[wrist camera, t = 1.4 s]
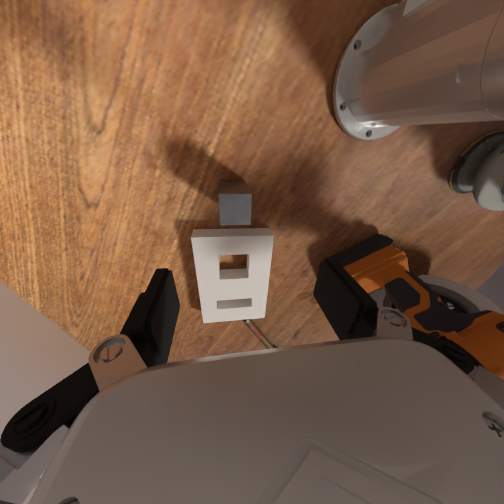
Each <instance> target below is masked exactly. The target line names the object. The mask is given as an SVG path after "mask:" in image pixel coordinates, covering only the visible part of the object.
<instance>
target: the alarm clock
mask: <svg viewBox="0 0 504 504" xmlns="http://www.w3.org/2000/svg"><path fill="white" fill-rule="evenodd" d="M418 277H419V278H420V279H422V280H423V282H425V283H427V284H428V285H429V286H430V287H432V290H434V291H435V292H436V293H437V294H438V295H439V296H440V298H441V301H442V302H444V303H445V304H446V305H447V306H448V307H449V308H450V309H451V310H452V311H454V312H457V313H461V314H472V313H477V312H481V311H484V310H491V311H494V312H498V313H500V314H503V313H502V311H501V310H500V309H499V308H498V307H497V306H496V305H495V304H494V303H493V302H491V301H490V300H489V299H487V298H486V297H484V296H483V295H482V294H480V293H478V292H477V291H475V290H473V289H471V288H469V287H467V286H465V285H463V284H460V283H457V282H454V281H451V280H449V279H445V278H440V277H436V276H431V275H421V276H418ZM370 296H371V297H372V298H373V299H374V300H375V301H376V303H377V307H378V308H379V309H380V308H381V307H390V308H393V309H396V310H398V309H397V308H396V307H395V305H394V304H393V303H392V302H391V300H390V299H389V297H388V296H387V294H386V292H385V291H384V289H383V288H382V289H379V290H376V291H373V292H371V293H370ZM398 311H399V310H398Z"/></svg>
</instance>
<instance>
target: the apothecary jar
mask: <svg viewBox="0 0 504 504" xmlns="http://www.w3.org/2000/svg"><path fill="white" fill-rule="evenodd" d="M449 184H450V188H451V189H452V190H453V191H454V192H456V193H460V194H464V193H469V192H473V195H474V198H475V200H476V202H477V203H478V204H479V205H480V206H482V207H484V208H486V209H489V210H504V130H495V131H491V132H489V133H486V134H484V135H483V136H481V137H479V138H478V139H476V140H475V141H474V142H472V143H471V144H470V145H469V146H468V147H467V148H466V149H465V150H464V151H463V153H462V154H461V155H460V156H459V159H458V163H457V165H456V166H455V167H454V168H453V169H452V171H451V174H450V178H449Z"/></svg>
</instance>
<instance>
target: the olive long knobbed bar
mask: <svg viewBox="0 0 504 504" xmlns="http://www.w3.org/2000/svg"><path fill="white" fill-rule="evenodd" d="M243 322H244V323H246V325H247V326H248V327H249V328H250V329H251V330H252V331H253V333H254V334H255V335H256V336H257V337H258V338H259V339H260V340H261V342H262V343H263V344H264V345H265V346H266V347H267V348H268V349H273V348H274V347H273V345H272V344H271V343H270V342H269V341H268V339H267V338H266V337H265V336H264V335H263V333H262V332H261V331H260V330H259V329H258V328H257V326H256V325H255V324H254V323H253V322H252V320H251V319H247V320H246V319H245V320H243Z"/></svg>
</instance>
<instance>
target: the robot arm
mask: <svg viewBox="0 0 504 504" xmlns="http://www.w3.org/2000/svg"><path fill="white" fill-rule="evenodd" d="M354 47H355V49H354ZM332 99H333V109H334V113H335V117H336V120H337V122H338V124H339V126H340V127H341V128H342V130H343V131H344V132H345V133H346V134H347V135H349V136H350V137H352V138H355V139H357V140H375V139H379V138H382V137H384V136H386V135H389V134H390V133H392V132H393V131H395V130H396V129H397V128H399V127H400V126H405V125H424V124H443V123H462V122H481V121H500V120H504V0H400V2H399V4H394V5H391V6H388V7H386V8H384V9H382V10H381V11H379V12H378V13H376V14H375V15H373V16H372V17H371V18H370V19H369V20H367V21H366V22H365V23H364V24H363V25H362V26H361V27H360V28H359V29H358V31H357V32H356V33H355V34H354V35H353V37H352V38H351V40H350V41H349V43H348V44H347V46H346V48H345V50H344V52H343V54H342V56H341V58H340V61H339V64H338V67H337V70H336V73H335V78H334V83H333V95H332ZM340 105H341V109H340ZM314 297H315V299H316V301H317V302H318V304H319V306H320V307H321V309H322V311H323V312H324V314H325V316H326V317H327V319H328V321H329V323H330V324H331V326H332V328H333V329H334V331H335V333H336V334H337V336H338V338H339V339H340V340H338V341H330V342H321V343H313V344H305V345H297V346H289V347H281V348H273V349H265V350H257V351H249V352H241V353H234V354H226V355H219V356H211V357H204V358H197V359H190V360H183V361H177V362H171V363H167V360H168V356H169V352H170V348H171V343H172V339H173V335H174V330H175V326H176V322H177V318H178V313H179V309H180V303H179V299H178V295H177V291H176V286H175V282H174V278H173V274H172V271H171V270H170V271H169V270H168V268H162V269H156V271H155V273H154V275H153V277H152V279H151V281H150V283H149V285H148V287H147V289H146V291H145V292H144V293H141V294H140V295H139V297H138V299H137V301H136V303H135V305H134V307H133V309H132V311H131V313H130V315H129V317H128V318H127V320H126V322H125V324H124V326H123V328H122V330H121V332H120V334H117V335H113V336H110V337H108V338H106V339H104V340H103V341H101V342H100V343H98V344H97V345H96V346H95V347H94V348H93V350H92V351H91V353H90V355H89V358H88V359H89V362H88V363H87V364H86V365H84V366H83V367H81V368H80V369H78V370H77V371H75V372H74V373H73V374H71V375H69V376H68V377H66V378H65V379H63V380H62V381H60V382H59V383H57V384H56V385H54V386H53V387H52V388H50V389H49V390H47V391H46V392H44V393H43V394H41V395H40V396H38V397H37V398H35V399H34V400H32V401H31V402H29V403H28V404H27V405H25V406H24V407H23V408H21V409H20V410H19V411H18V412H17V413H16V414H15V415H14V416H13V417H12V419H11V420H10V421H9V422H8V424H7V425H6V426H5V429H4V431H3V433H2V435H1V439H0V504H22V503H23V502H24V500H25V499H26V497H27V496H28V495H29V493H30V492H31V491H32V490H33V489H34V487H35V486H36V485H37V484H38V483H39V484H38V486H37V488H36V490H35V492H34V494H33V496H32V498H31V500H30V502H29V503H28V504H504V380H503V379H502V378H500V377H498V376H497V375H495V374H493V373H492V372H490V371H488V370H487V369H485V368H483V367H482V366H480V365H479V366H478V367H476V366H474V363H473V361H472V360H471V358H470V357H469V356H468V355H467V354H466V353H465V352H464V351H462V350H461V349H459V348H458V347H456V346H454V345H452V344H451V343H448V342H446V341H444V340H441V339H439V338H437V337H434V336H432V335H430V334H427V333H425V332H423V331H420V330H418V329H416V328H413V327H411V323H410V320H409V319H408V318H407V317H406V316H405V315H404V314H403V313H401V312H400V311H398V310H396V309H393V308H390V307H381V308H380V309H379V308H378V307H377V303H376V301H375V300H374V299H373V298H372V297H371V296H370V295H369V294H368V293H367V292H366V291H365V290H364V289H363V288H362V287H361V286H360V285H359V283H358V282H357V281H356V280H355V279H354V278H353V277H352V276H351V275H350V274H349V273H348V272H347V271H346V270H345V269H344V268H343V267H342V265H341V264H340V263H339V262H338V261H337V260H336V259H335V258H328V259H324V261H322V262H321V266H320V269H319V273H318V277H317V281H316V284H315V288H314ZM45 470H46V471H45ZM44 471H45V473H44V474H43V476H42V478H41V479H40V478H39V477H40V475H41V474H42V473H43V472H44ZM39 481H40V482H39ZM78 500H79V501H78Z"/></svg>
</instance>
